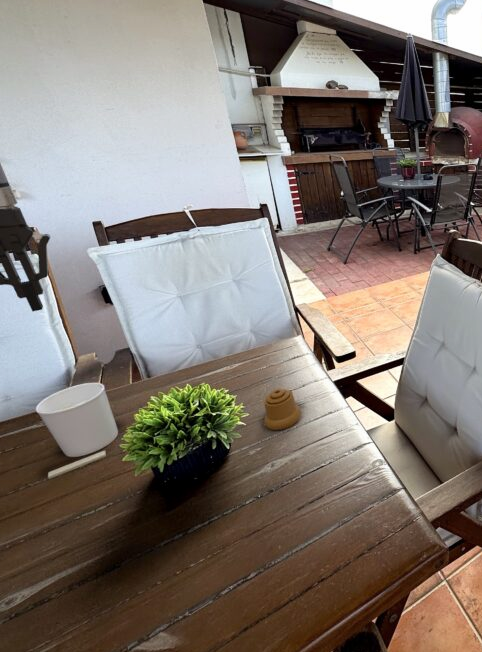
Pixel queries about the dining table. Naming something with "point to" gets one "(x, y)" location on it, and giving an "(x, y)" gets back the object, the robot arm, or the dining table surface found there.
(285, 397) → the ornamental finial
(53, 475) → the strip
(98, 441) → the white tapered cylinder
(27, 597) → the dining table surface
